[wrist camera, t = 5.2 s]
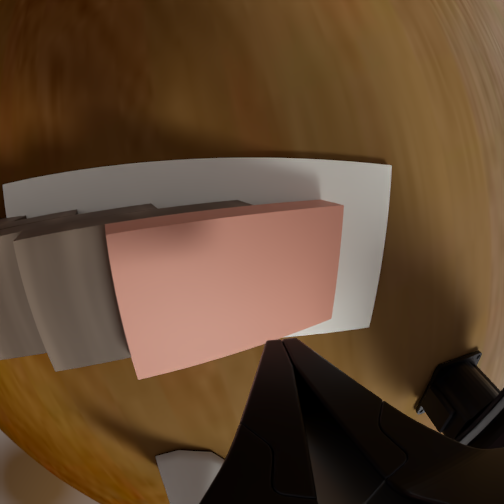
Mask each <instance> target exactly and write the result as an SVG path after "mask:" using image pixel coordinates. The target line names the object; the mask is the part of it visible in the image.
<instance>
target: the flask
mask: <svg viewBox="0 0 504 504" xmlns="http://www.w3.org/2000/svg"><path fill="white" fill-rule="evenodd" d="M155 457H156V461H157V464H158V468H159V471H160V474H161V477H162V480H163V483H164V486H165V489H166V492H167V495H168V498H169V501H170V504H199V503H200V501H201V500H202V498H203V496H204V495H205V493H206V492H207V490H208V488H209V487H210V485H211V483H212V482H213V480H214V478H215V477H216V475H217V473H218V472H219V470H220V468H221V466H222V464H223V462H224V459H222V458H220V457H219V456H217V455H216V454H214V453H213V452H202V451H186V450H177V451H173V452H169V453H166V454H162V455H158V456H155Z"/></svg>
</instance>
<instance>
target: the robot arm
mask: <svg viewBox="0 0 504 504" xmlns="http://www.w3.org/2000/svg"><path fill="white" fill-rule="evenodd" d="M481 355H482V353H481V352H480V351H476V352H473V353H471V354H468V355H466V356H463V357H460V358H457V359H455V360H452V361H449V362H446V363H443V364H441V365H439V366H438V367H437V368H436V370H435V372H434V374H433V377H432V379H431V381H430V383H429V385H428V387H427V389H426V391H425V393H424V395H423V397H422V399H421V401H420V403H419V405H418V407H417V409H416V412H417V414H421V413H424V412H426V414H427V415H428V417H429V418H430V420H431V421H432V423H433V424H434V426H435V427H436V429H437V430H438V431H439V432H440V433H439V432H437V431H435V430H432V429H430V428H428V427H426V426H425V425H423V424H421V423H419V422H417V421H415V420H414V419H412V418H410V417H408V416H407V415H405V414H403V413H402V412H400V411H399V410H397V409H396V408H394V407H393V406H391V405H390V404H388V403H387V402H385V401H383V402H382V399H381V398H379V397H378V396H376V395H375V394H373V393H372V392H370V391H369V390H368V389H366V388H365V387H363V386H362V385H360V384H359V383H358V382H356V381H355V380H353V379H352V378H351V377H349V376H348V375H346V374H345V373H344V372H342V371H341V370H339V369H338V368H337V367H335V366H334V365H332V364H331V363H330V362H328V361H327V360H326V359H324V358H323V357H321V356H320V355H319V354H317V353H316V352H315V351H313V350H312V349H311V348H309V347H308V346H306V345H305V344H304V343H302V342H301V341H300V340H298V339H297V338H290V339H283V340H282V341H281V340H279V339H278V340H267V341H266V343H265V346H264V350H263V353H262V356H261V359H260V363H259V366H258V369H257V372H256V375H255V378H254V381H253V385H252V388H251V391H250V394H249V397H248V400H247V403H246V406H245V409H244V412H243V415H242V418H241V421H240V425H239V426H238V429H237V432H236V435H235V437H234V440H233V442H232V445H231V447H230V450H229V452H228V454H227V456H226V458H225V460H224V462H223V464H222V466H221V468H220V470H219V472H218V473H217V475H216V477H215V478H214V480H213V482H212V483H211V485H210V487H209V488H208V490H207V492H206V493H205V495H204V496H203V498H202V500H201V501H200V503H199V504H504V388H503V389H502V391H500V390H499V389H498V388H497V387H496V386H495V385H494V384H493V383H492V382H491V380H490V379H489V378H488V377H487V376H486V375H485V374H484V373H483V372H482V371H481V370H480V369H479V368H478V367H477V363H478V361H479V359H480V357H481ZM441 432H443V434H444V435H443V434H441Z"/></svg>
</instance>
